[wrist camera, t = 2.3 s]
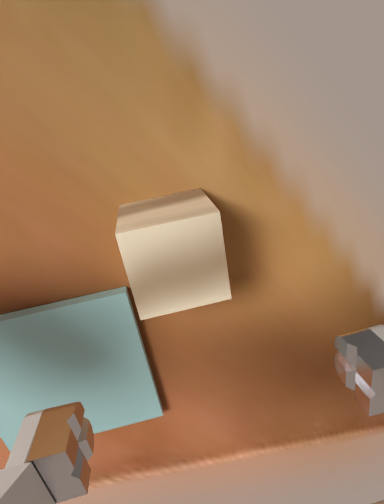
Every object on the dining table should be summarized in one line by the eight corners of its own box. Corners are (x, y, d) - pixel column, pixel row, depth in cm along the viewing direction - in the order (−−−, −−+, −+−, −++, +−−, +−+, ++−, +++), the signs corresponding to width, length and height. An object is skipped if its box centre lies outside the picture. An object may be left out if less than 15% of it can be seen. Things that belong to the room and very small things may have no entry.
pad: (-60, 328, 20) (-67, 336, 20) (126, 286, 21) (125, 292, 21) (16, 445, 26) (12, 455, 25) (162, 407, 26) (163, 415, 26)
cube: (119, 204, 19) (114, 234, 15) (200, 187, 20) (219, 211, 15) (139, 275, 21) (140, 320, 17) (211, 259, 22) (231, 298, 17)
